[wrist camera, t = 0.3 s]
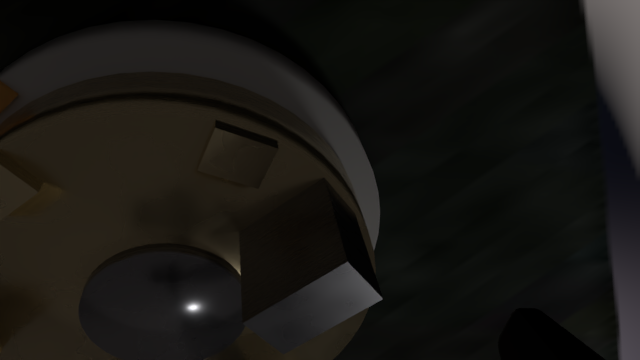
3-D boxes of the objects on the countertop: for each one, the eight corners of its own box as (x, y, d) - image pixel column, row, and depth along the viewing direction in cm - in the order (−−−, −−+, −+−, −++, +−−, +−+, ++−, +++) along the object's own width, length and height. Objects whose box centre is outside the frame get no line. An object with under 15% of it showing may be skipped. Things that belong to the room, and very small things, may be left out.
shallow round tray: (165, 403, 28) (151, 552, 22) (-141, 235, 19) (-292, 411, 14) (420, 259, 24) (480, 392, 19) (188, -29, 16) (169, 61, 10)
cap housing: (168, 381, 31) (165, 415, 29) (-152, 194, 21) (-187, 229, 19) (432, 229, 27) (447, 258, 25) (193, -94, 17) (189, -83, 15)
